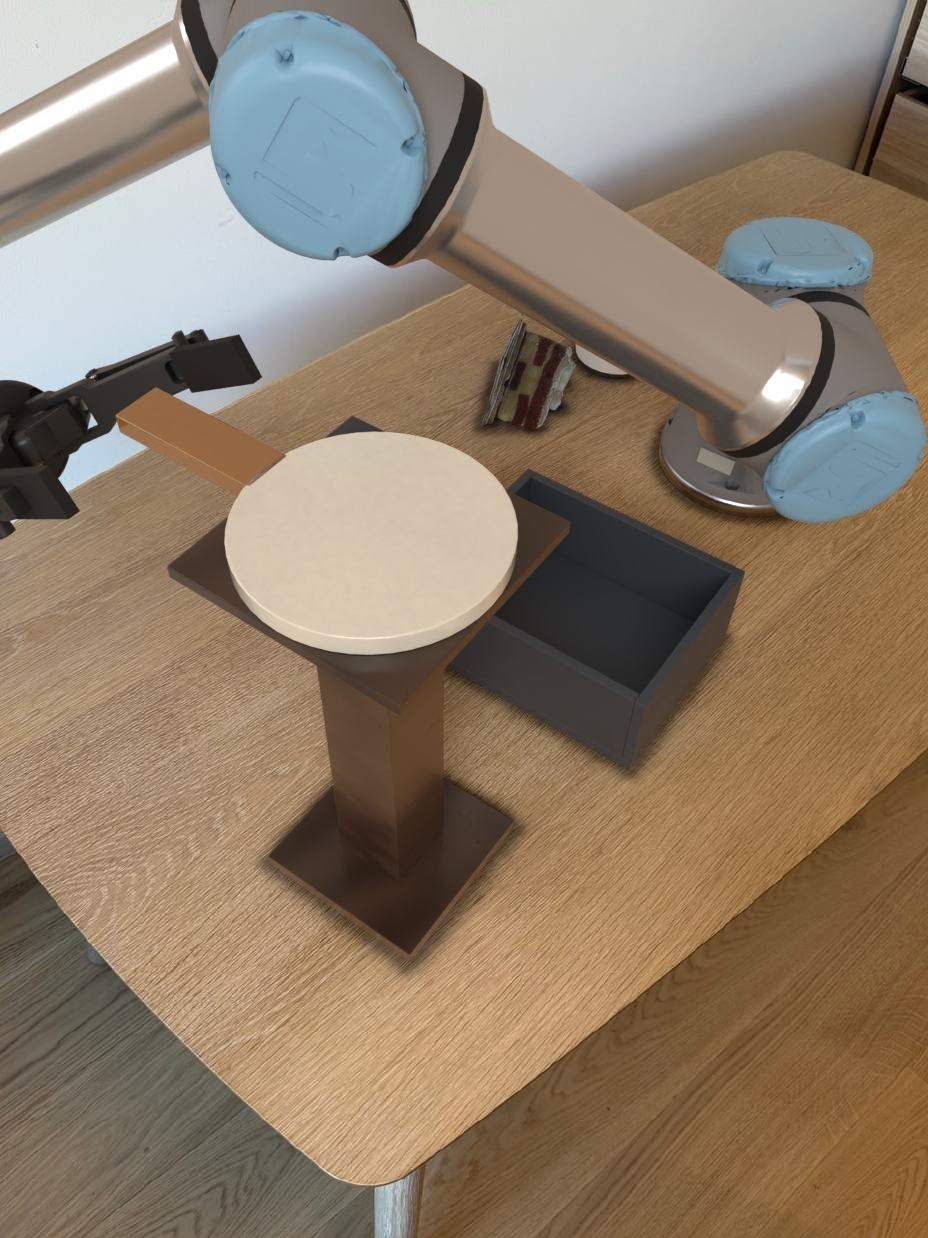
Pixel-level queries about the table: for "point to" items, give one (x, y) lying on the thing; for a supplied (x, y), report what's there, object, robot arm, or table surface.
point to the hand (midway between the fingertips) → (159, 421)
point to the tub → (603, 626)
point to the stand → (385, 760)
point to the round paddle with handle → (347, 528)
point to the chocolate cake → (529, 379)
